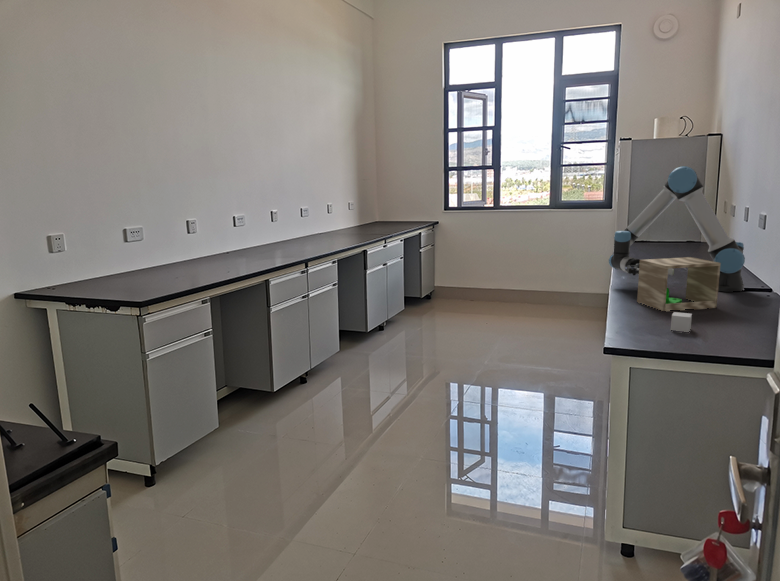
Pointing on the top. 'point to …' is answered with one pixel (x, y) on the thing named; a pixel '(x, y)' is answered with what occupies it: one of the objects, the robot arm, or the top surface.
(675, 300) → the mechanical part
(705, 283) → the cubby box
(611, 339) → the top surface
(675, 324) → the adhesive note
